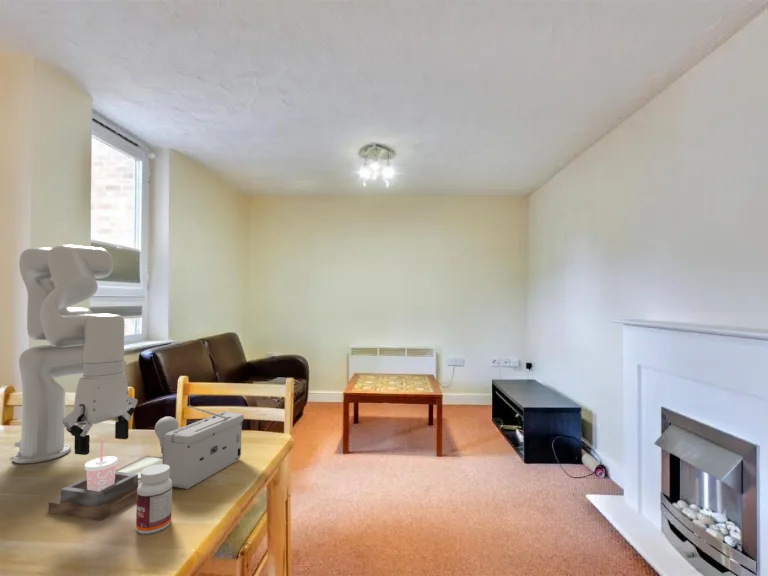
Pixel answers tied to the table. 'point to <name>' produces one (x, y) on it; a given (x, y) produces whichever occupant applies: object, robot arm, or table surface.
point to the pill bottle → (154, 499)
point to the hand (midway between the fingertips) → (102, 445)
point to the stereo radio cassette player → (202, 448)
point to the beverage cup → (101, 471)
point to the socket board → (103, 493)
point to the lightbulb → (165, 428)
